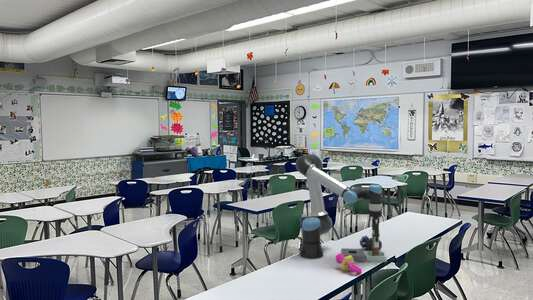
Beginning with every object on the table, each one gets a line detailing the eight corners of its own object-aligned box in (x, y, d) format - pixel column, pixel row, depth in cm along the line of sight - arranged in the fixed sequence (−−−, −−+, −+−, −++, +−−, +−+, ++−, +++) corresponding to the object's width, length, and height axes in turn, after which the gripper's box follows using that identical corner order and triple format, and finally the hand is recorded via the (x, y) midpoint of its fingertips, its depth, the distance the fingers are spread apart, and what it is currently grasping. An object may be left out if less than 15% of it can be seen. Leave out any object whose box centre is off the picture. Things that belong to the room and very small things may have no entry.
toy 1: (351, 279, 230) (360, 262, 230) (327, 262, 243) (335, 246, 243) (359, 281, 237) (368, 264, 237) (336, 264, 250) (344, 249, 250)
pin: (379, 259, 256) (379, 235, 255) (371, 259, 257) (371, 235, 256) (379, 257, 261) (379, 233, 259) (371, 256, 262) (371, 233, 261)
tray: (366, 261, 255) (366, 256, 255) (365, 256, 265) (365, 251, 265) (386, 262, 253) (386, 256, 253) (384, 256, 263) (384, 251, 263)
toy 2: (365, 234, 284) (383, 239, 272) (365, 246, 285) (383, 251, 273) (357, 236, 279) (375, 241, 267) (357, 249, 280) (375, 254, 268)
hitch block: (341, 261, 255) (341, 255, 255) (341, 254, 269) (341, 248, 269) (364, 262, 253) (364, 256, 253) (363, 255, 267) (363, 249, 267)
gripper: (384, 214, 244) (384, 250, 245) (379, 205, 268) (379, 238, 270) (370, 214, 245) (371, 249, 247) (367, 205, 270) (367, 237, 271)
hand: (375, 243), depth 258 cm, fingers open, 13 cm apart
